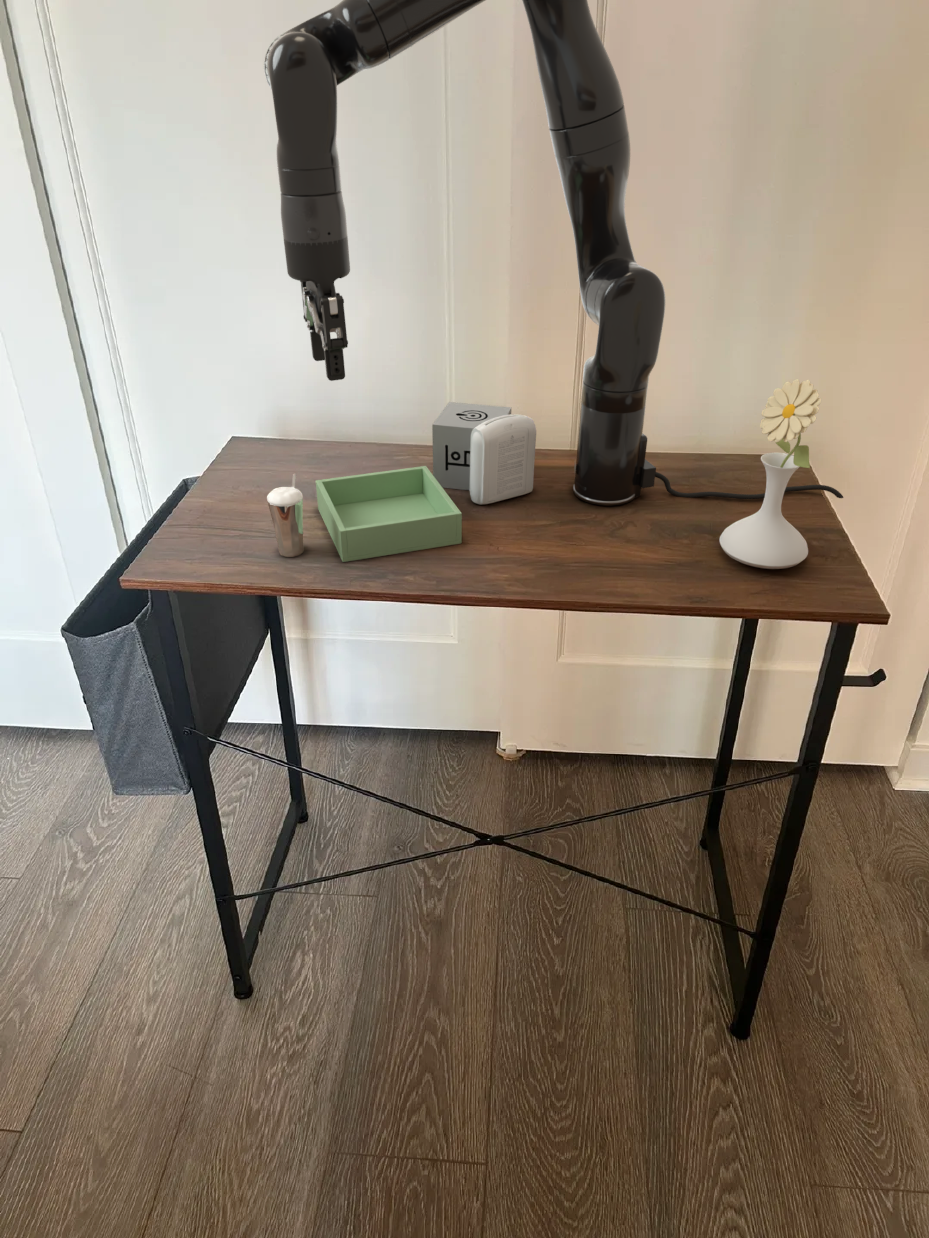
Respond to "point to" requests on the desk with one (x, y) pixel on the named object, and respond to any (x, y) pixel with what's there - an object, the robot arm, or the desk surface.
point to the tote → (388, 513)
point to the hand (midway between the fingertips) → (328, 369)
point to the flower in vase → (776, 483)
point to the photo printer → (502, 458)
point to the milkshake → (287, 518)
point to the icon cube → (458, 441)
